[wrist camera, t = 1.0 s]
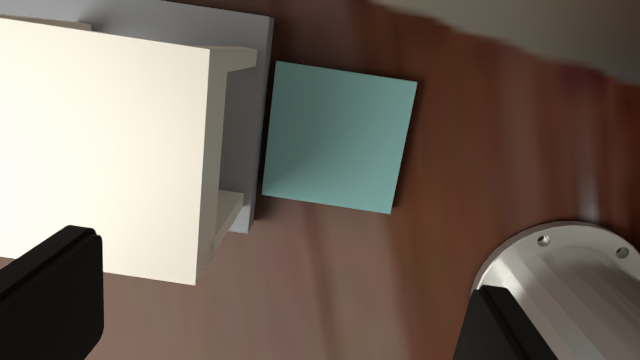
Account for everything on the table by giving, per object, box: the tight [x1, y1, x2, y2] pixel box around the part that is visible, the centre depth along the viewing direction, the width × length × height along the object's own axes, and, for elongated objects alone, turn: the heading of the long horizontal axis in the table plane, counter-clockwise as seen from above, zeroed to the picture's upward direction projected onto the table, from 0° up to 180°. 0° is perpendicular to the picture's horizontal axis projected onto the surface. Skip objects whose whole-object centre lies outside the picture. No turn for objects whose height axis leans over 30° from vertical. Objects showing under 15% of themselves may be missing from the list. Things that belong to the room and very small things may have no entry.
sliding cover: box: [0, 14, 257, 285], centre depth 22 cm, size 11×10×10 cm
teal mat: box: [262, 61, 417, 214], centre depth 28 cm, size 9×9×1 cm
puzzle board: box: [0, 0, 274, 234], centre depth 28 cm, size 24×14×2 cm, turn 82°
